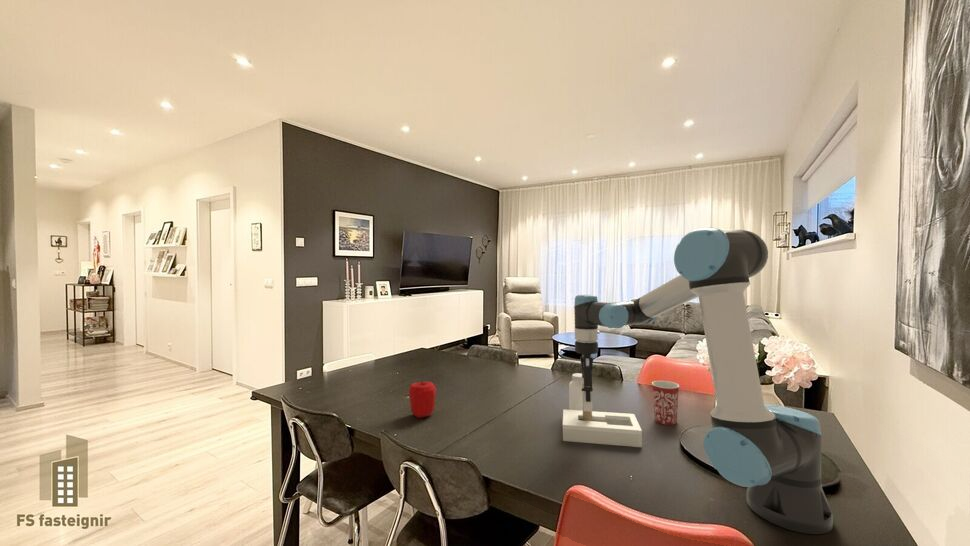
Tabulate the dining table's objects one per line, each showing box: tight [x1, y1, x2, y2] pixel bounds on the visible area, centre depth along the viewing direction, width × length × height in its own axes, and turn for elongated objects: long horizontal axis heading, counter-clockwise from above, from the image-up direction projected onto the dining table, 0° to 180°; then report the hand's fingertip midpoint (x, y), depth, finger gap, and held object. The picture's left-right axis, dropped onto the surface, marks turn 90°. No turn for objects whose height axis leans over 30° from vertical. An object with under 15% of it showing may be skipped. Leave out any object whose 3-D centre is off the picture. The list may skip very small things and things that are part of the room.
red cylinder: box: [408, 380, 437, 419], centre depth 146 cm, size 10×10×14 cm
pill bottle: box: [568, 372, 583, 411], centre depth 146 cm, size 8×8×15 cm
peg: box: [582, 384, 592, 421], centre depth 128 cm, size 6×6×16 cm
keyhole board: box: [562, 408, 643, 448], centre depth 127 cm, size 14×24×5 cm, turn 77°
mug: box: [651, 380, 680, 426], centre depth 139 cm, size 13×9×14 cm
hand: (587, 403), depth 128 cm, fingers open, 13 cm apart
